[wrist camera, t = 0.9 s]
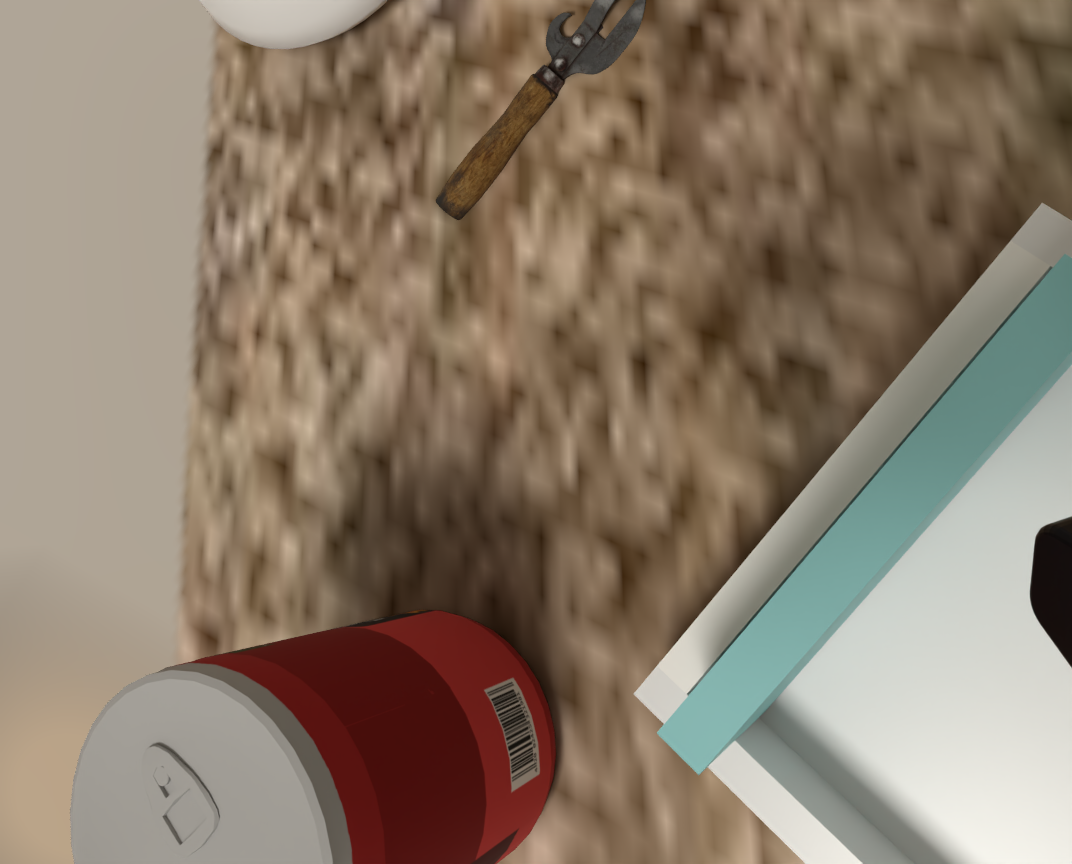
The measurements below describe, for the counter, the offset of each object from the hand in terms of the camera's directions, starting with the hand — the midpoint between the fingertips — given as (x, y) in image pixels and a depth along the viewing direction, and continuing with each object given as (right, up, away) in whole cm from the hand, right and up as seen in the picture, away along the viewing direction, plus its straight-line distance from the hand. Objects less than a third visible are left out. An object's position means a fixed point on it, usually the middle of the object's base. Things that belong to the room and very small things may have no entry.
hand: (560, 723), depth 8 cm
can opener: (0, +12, +23) cm, 26 cm away
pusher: (+9, 0, +16) cm, 19 cm away
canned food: (-3, -7, +23) cm, 24 cm away
